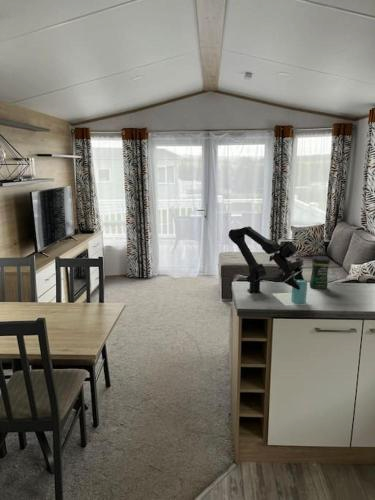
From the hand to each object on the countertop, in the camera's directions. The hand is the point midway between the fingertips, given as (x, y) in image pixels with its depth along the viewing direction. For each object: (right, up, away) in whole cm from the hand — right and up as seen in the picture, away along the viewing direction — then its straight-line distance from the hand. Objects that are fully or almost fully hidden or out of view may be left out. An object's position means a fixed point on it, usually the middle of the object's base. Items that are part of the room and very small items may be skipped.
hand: (302, 287), depth 192 cm
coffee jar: (+18, -3, +29) cm, 34 cm away
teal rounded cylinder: (-1, -8, +2) cm, 8 cm away
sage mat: (-4, -7, +7) cm, 11 cm away
